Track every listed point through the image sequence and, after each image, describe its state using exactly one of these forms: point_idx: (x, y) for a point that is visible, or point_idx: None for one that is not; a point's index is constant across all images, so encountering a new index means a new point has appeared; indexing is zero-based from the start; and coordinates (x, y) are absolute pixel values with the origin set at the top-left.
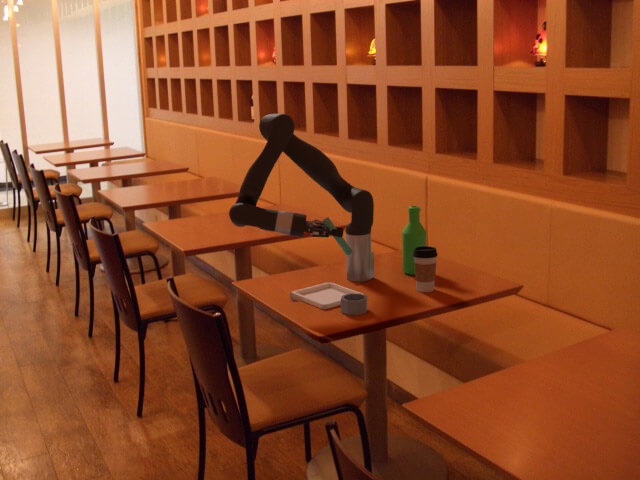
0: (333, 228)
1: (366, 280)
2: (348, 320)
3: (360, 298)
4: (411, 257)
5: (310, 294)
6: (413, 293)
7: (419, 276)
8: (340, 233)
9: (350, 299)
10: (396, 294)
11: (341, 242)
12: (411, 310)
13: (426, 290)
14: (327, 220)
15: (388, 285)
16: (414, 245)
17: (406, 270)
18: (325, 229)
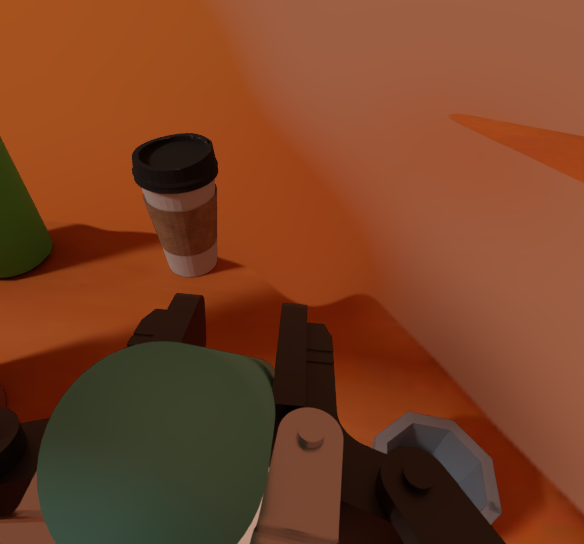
0: (269, 386)
1: (4, 400)
2: (501, 535)
3: (388, 445)
4: (16, 221)
5: None
6: (216, 288)
7: (204, 238)
8: (325, 342)
9: None
10: (211, 329)
11: None
12: (369, 314)
13: (216, 258)
14: (260, 408)
15: (104, 337)
16: (4, 178)
17: (18, 267)
18: (456, 539)
